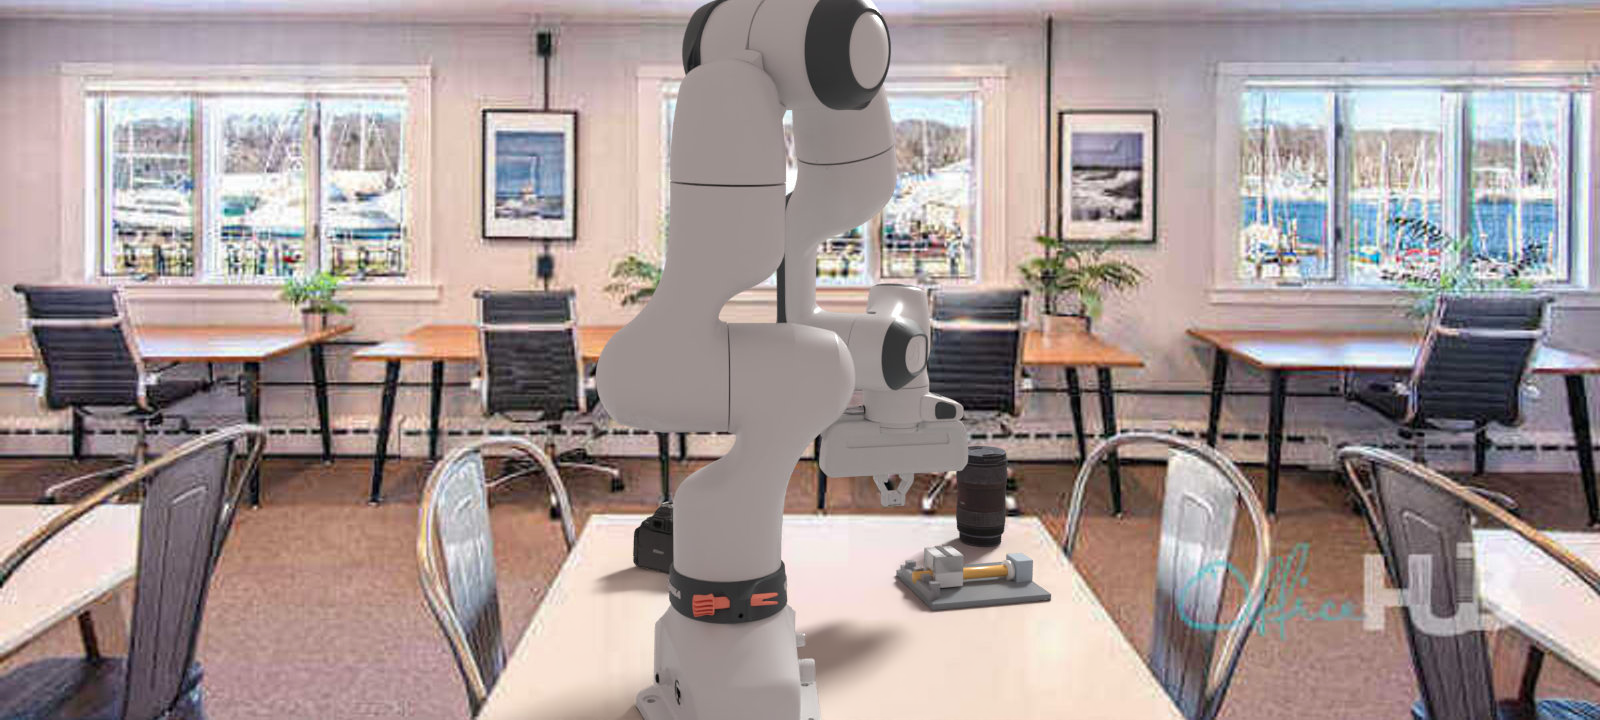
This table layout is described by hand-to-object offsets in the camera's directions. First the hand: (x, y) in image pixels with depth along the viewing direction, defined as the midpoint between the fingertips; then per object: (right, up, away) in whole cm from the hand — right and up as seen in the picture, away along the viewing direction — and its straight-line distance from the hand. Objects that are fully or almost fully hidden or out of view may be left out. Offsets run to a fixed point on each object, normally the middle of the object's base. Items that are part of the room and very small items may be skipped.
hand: (892, 505), depth 127 cm
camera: (-30, -11, +11) cm, 34 cm away
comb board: (+11, -12, +4) cm, 17 cm away
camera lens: (+17, -10, +26) cm, 32 cm away
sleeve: (+7, -11, +3) cm, 13 cm away
